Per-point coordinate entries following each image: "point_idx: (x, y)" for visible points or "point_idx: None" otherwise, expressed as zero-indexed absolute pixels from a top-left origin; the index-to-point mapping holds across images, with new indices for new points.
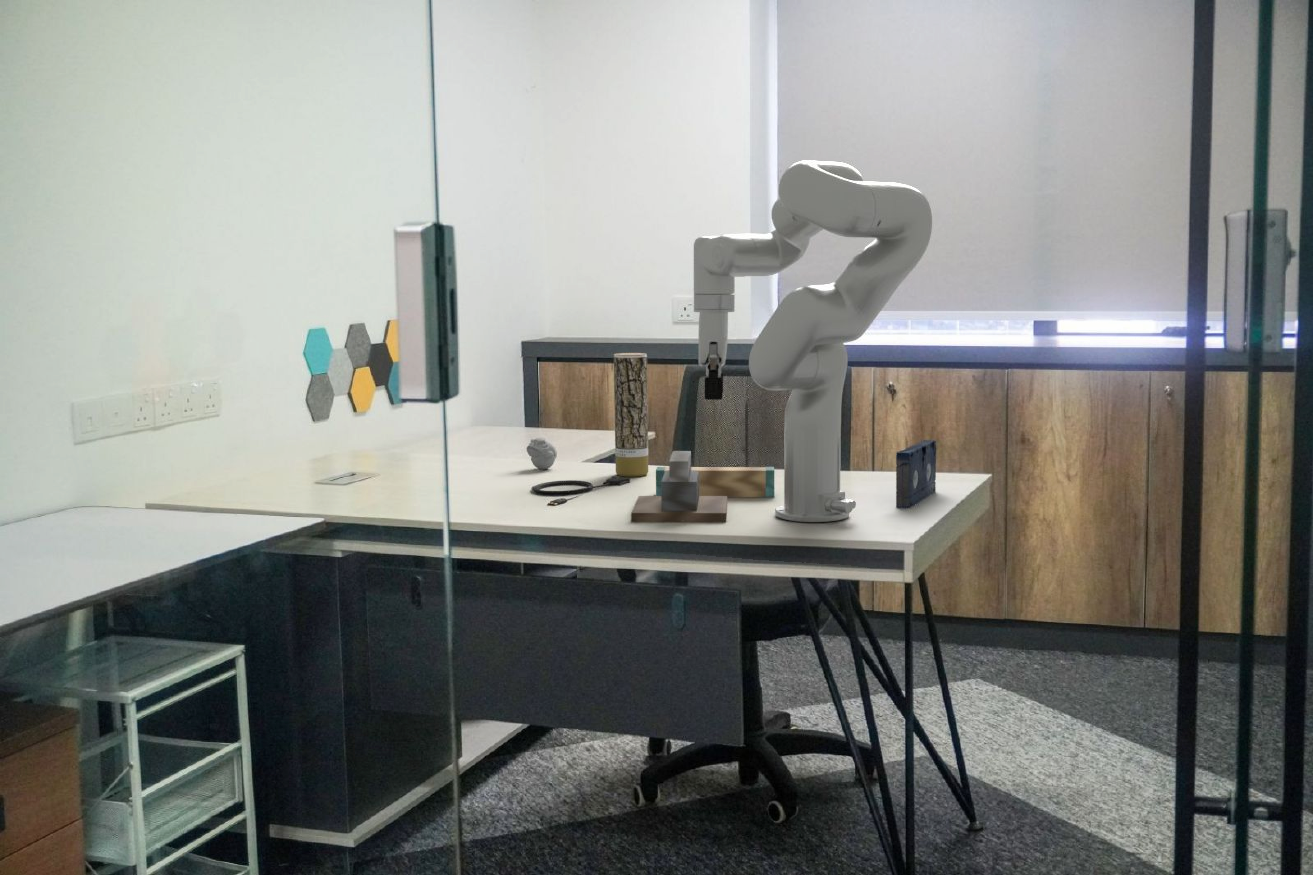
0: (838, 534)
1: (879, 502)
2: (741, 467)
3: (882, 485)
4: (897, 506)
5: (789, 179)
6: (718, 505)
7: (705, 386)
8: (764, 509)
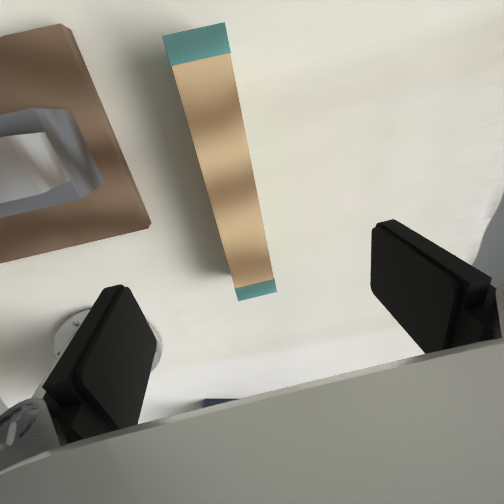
0: (16, 387)
1: (231, 381)
2: (262, 241)
3: (344, 364)
4: (204, 401)
5: None
6: (49, 237)
7: (77, 337)
8: (132, 284)
